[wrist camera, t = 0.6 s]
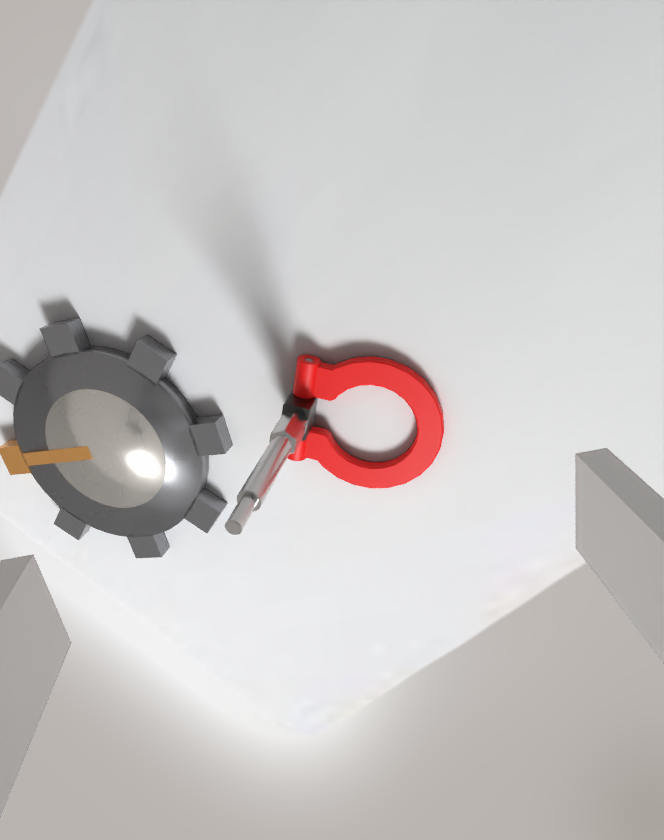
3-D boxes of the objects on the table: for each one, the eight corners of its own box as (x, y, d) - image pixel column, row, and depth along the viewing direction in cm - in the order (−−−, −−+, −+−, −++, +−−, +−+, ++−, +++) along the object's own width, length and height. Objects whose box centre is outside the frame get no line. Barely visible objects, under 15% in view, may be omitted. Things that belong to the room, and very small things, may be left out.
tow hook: (459, 371, 35) (301, 336, 36) (450, 496, 24) (221, 440, 25) (427, 492, 39) (285, 458, 40) (405, 648, 28) (210, 595, 29)
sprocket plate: (42, 263, 39) (29, 268, 38) (279, 424, 39) (272, 433, 38) (-22, 458, 47) (-35, 466, 46) (172, 586, 48) (164, 598, 47)
